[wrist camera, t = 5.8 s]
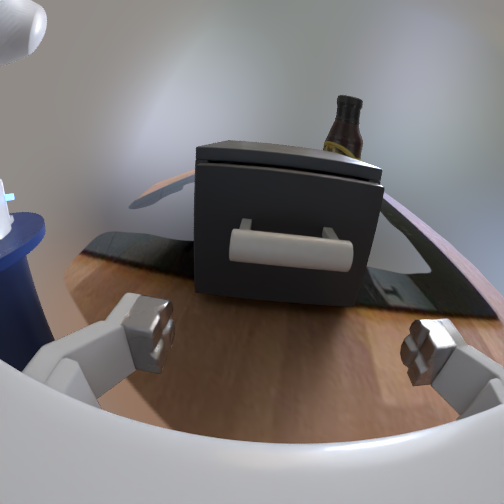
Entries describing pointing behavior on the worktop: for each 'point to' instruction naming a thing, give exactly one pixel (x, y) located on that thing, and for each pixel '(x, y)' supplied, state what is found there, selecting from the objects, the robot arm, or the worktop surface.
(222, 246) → the drawer
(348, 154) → the sauce bottle
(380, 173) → the cabinet
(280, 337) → the worktop surface
